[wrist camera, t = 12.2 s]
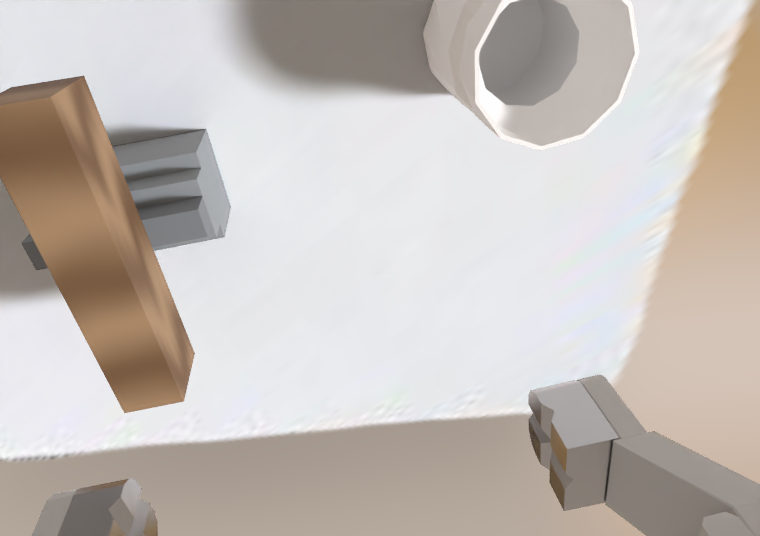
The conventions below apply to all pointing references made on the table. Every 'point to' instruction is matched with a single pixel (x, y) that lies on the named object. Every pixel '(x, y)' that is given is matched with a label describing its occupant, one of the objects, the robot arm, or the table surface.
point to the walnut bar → (93, 239)
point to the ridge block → (170, 191)
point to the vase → (534, 63)
